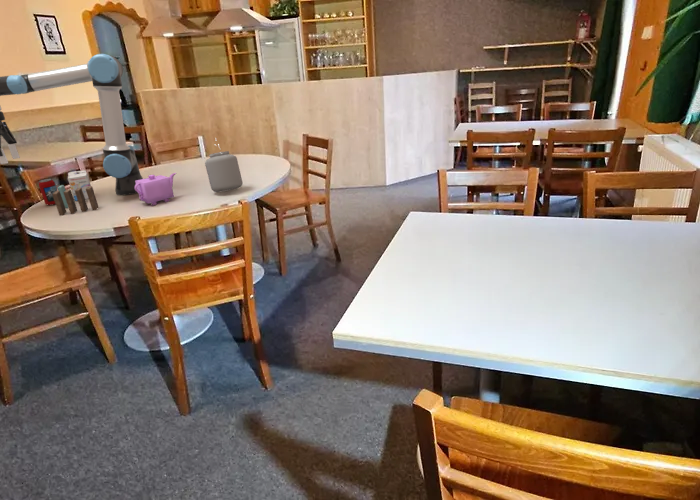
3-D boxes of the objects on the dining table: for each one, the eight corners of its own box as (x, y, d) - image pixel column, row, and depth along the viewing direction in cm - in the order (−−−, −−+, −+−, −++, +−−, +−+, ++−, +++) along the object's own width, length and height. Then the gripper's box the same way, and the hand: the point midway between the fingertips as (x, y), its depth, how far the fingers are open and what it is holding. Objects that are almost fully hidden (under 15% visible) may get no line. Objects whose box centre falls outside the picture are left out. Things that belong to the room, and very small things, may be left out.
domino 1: (70, 205, 217) (64, 184, 214) (68, 207, 213) (60, 187, 209) (67, 205, 217) (60, 185, 213) (64, 208, 213) (57, 187, 209)
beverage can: (54, 205, 219) (45, 181, 214) (42, 206, 220) (33, 182, 216) (64, 201, 225) (56, 178, 220) (53, 202, 227) (45, 178, 222)
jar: (207, 190, 221) (196, 138, 212) (236, 184, 228) (227, 134, 218) (216, 198, 206) (205, 142, 196) (247, 191, 212) (238, 137, 203)
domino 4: (88, 208, 208) (81, 187, 204) (85, 211, 204) (78, 190, 200) (84, 209, 208) (77, 188, 204) (81, 212, 203) (74, 190, 200)
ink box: (74, 201, 224) (65, 174, 219) (75, 197, 231) (66, 172, 226) (93, 197, 228) (85, 171, 222) (93, 194, 235) (86, 169, 229)
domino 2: (66, 211, 206) (59, 190, 202) (63, 214, 202) (56, 193, 198) (62, 212, 206) (55, 191, 202) (59, 215, 201) (52, 193, 197)
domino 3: (77, 210, 207) (70, 189, 203) (74, 213, 203) (67, 191, 199) (73, 210, 207) (66, 189, 203) (70, 213, 202) (63, 192, 199)
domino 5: (98, 207, 209) (92, 186, 205) (96, 210, 205) (89, 188, 201) (95, 207, 209) (88, 186, 205) (92, 210, 204) (85, 189, 201)
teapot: (144, 208, 200) (136, 180, 195) (135, 204, 207) (128, 178, 202) (186, 197, 213) (180, 170, 208) (177, 194, 220) (171, 168, 215)
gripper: (-6, 110, 205) (12, 157, 213) (-33, 115, 182) (-11, 167, 191) (12, 108, 206) (29, 155, 215) (-12, 113, 184) (9, 164, 192)
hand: (10, 161), depth 203 cm, fingers open, 13 cm apart
